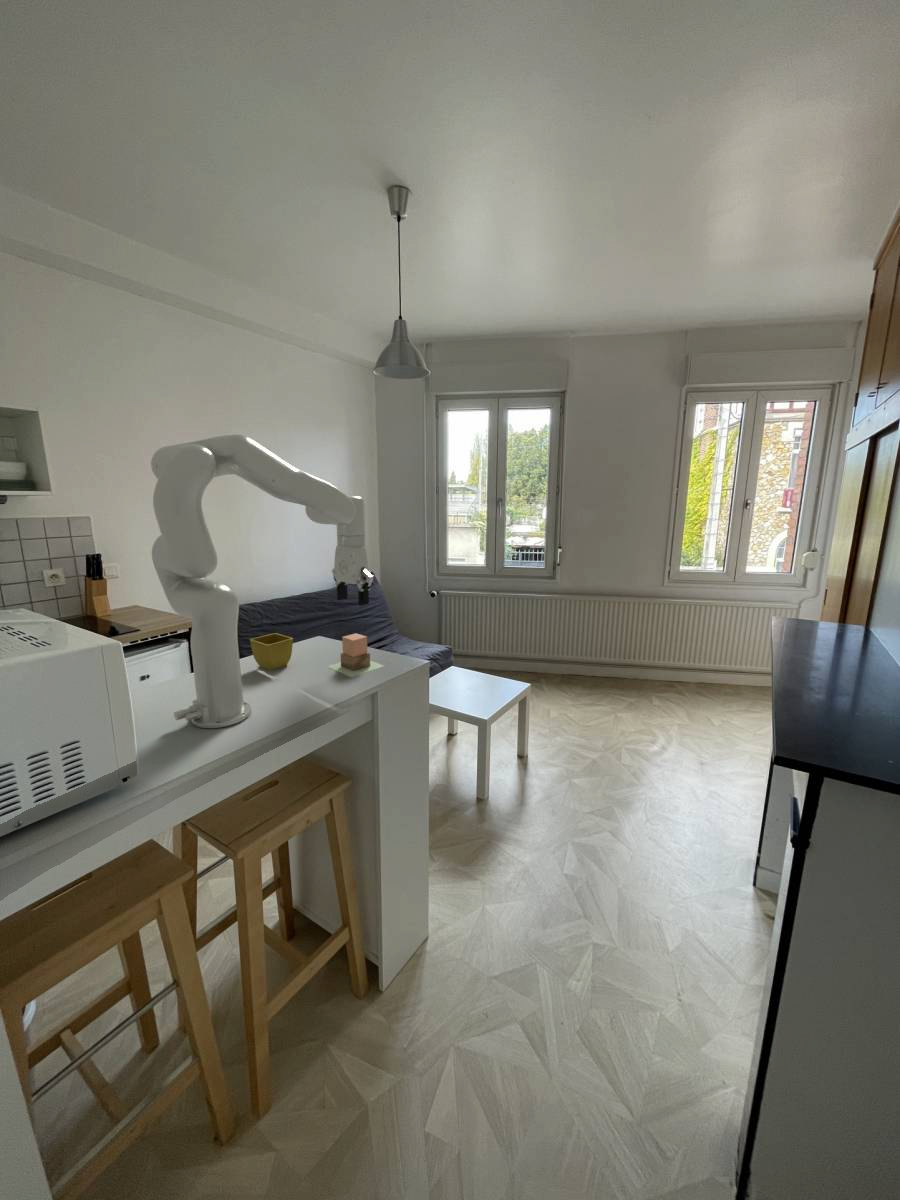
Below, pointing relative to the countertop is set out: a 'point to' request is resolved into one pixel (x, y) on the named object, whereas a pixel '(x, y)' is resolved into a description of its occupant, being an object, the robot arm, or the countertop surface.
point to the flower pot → (272, 650)
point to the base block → (355, 661)
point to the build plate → (354, 673)
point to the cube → (354, 645)
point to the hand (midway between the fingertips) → (352, 601)
